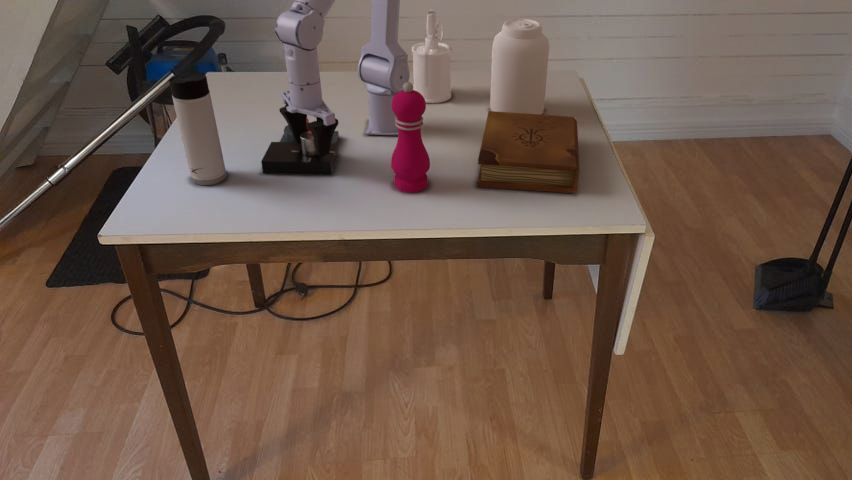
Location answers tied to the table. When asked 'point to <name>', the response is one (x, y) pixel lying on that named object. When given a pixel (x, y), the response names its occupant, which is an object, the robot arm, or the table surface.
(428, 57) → the white oil can
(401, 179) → the pepper mill
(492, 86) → the can
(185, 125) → the travel mug
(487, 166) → the diary
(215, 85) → the table surface
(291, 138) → the button box
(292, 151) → the panel
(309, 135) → the burner knob
